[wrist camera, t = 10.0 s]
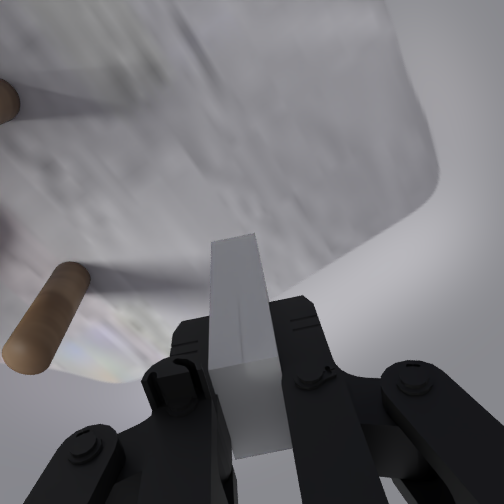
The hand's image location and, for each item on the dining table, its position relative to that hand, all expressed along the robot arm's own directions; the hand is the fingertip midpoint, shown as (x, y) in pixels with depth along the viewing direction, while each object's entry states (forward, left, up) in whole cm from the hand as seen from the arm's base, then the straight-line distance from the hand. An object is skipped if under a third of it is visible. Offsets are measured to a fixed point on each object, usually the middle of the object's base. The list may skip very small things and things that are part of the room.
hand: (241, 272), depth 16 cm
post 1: (-13, -6, -16) cm, 22 cm away
